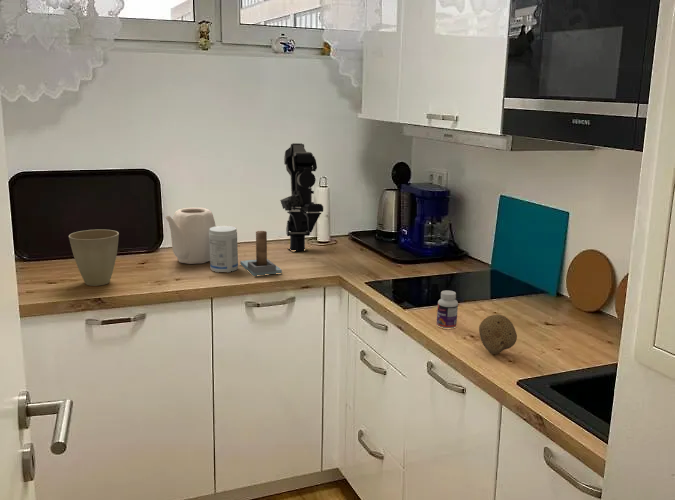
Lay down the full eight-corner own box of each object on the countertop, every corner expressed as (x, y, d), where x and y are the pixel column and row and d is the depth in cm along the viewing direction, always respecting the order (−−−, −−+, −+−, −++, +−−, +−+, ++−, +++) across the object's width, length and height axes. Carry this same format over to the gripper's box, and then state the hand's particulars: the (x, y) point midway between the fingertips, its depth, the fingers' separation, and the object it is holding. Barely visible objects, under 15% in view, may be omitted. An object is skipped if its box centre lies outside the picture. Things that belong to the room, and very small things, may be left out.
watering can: (150, 267, 238) (148, 214, 233) (197, 251, 261) (196, 202, 257) (186, 273, 231) (184, 218, 227) (231, 256, 255) (230, 206, 250)
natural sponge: (506, 346, 173) (510, 309, 171) (521, 360, 165) (524, 321, 162) (472, 347, 172) (475, 310, 169) (485, 361, 163) (488, 322, 161)
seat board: (240, 265, 243) (240, 255, 242) (267, 262, 247) (267, 253, 246) (254, 277, 228) (254, 267, 228) (282, 274, 232) (282, 264, 232)
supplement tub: (229, 264, 243) (228, 224, 240) (243, 270, 236) (242, 229, 233) (204, 268, 237) (203, 227, 234) (218, 274, 230) (217, 232, 227)
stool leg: (256, 267, 234) (255, 230, 231) (266, 267, 235) (266, 230, 232) (256, 270, 231) (256, 233, 228) (267, 270, 231) (266, 233, 228)
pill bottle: (432, 324, 188) (434, 290, 185) (449, 322, 190) (451, 288, 187) (443, 331, 183) (445, 296, 181) (460, 328, 185) (462, 294, 183)
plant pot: (121, 274, 228) (118, 228, 224) (121, 287, 214) (119, 238, 210) (73, 277, 223) (69, 230, 219) (70, 291, 209) (67, 240, 205)
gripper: (271, 187, 248) (272, 230, 250) (295, 188, 232) (296, 233, 234) (299, 187, 254) (299, 229, 255) (324, 188, 238) (324, 232, 239)
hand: (303, 231), depth 246 cm, fingers open, 9 cm apart
